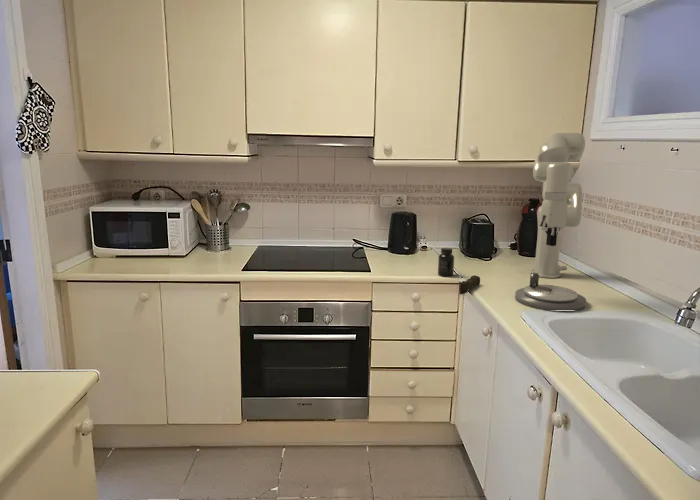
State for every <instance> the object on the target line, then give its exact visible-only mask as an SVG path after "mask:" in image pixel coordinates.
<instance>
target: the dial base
mask: <svg viewBox="0 0 700 500" xmlns="http://www.w3.org/2000/svg"><path fill="white" fill-rule="evenodd" d="M524 288H525V287H522V288H518V289H517V290H516V291H515V293H514V294H515V295H514V299H515V301H516V302H518V303H519V304H521V305H523V306H526V307H529V308H533V309H536V310H541V309H544V310H543V311H547V310H579V311H581V310H584V309H585V308H586V307H587V299H586V297H584V296H583V295H581V294H579V293H577V294H578V296H577V300H575V301H573V302H566V303H556V302H546V301H541V300H537V299H533V298H530V297H528V296H526V295H525V294H524Z"/></svg>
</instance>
